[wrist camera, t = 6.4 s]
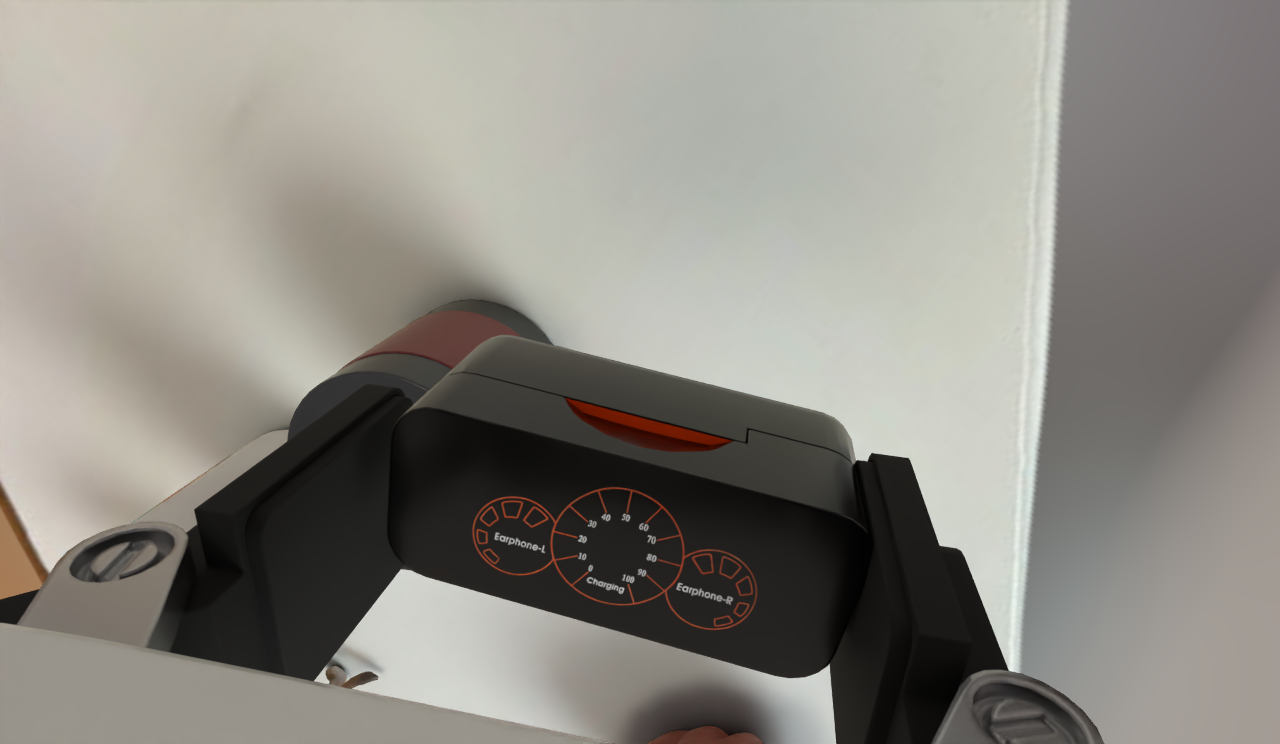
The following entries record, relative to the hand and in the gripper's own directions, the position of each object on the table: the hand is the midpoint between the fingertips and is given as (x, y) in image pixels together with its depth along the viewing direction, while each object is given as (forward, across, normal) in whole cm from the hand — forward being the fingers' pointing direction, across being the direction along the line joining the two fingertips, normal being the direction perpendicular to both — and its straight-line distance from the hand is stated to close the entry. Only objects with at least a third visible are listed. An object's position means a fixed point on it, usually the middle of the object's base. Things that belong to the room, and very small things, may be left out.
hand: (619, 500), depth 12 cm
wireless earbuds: (+1, 0, 0) cm, 1 cm away
